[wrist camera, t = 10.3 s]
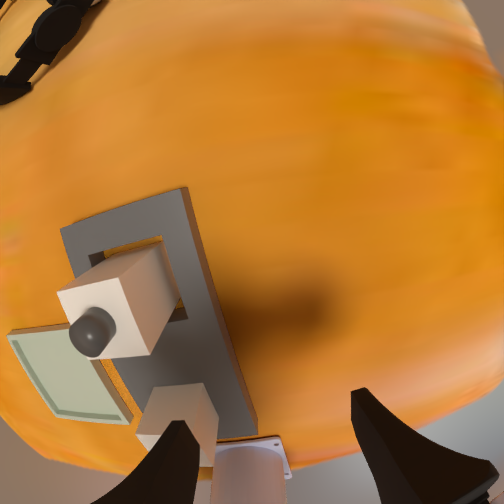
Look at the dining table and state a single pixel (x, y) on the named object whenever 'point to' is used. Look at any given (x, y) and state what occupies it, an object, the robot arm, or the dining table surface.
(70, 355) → the tray
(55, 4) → the headphones
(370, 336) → the dining table surface
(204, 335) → the power strip
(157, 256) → the plug
